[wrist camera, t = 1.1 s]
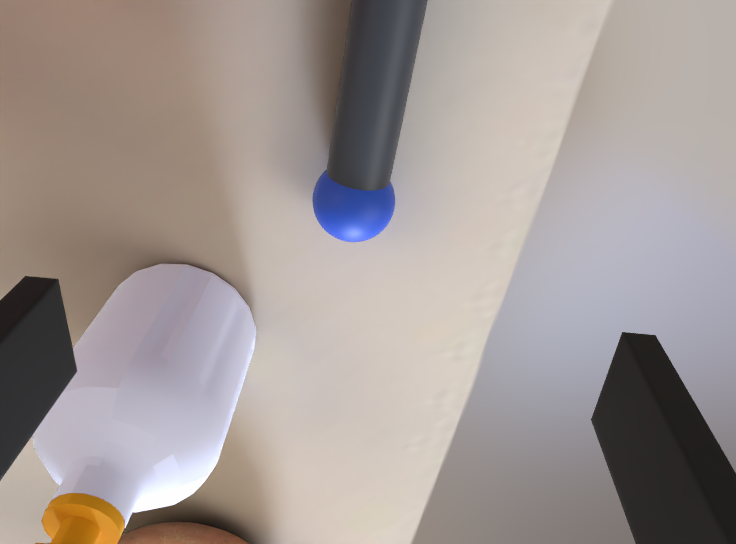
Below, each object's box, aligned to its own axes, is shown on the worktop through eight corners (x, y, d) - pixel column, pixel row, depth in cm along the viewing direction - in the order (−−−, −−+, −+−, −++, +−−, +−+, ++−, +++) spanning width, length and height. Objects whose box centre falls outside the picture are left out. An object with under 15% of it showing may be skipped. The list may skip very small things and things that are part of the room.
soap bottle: (198, 235, 36) (-93, 724, 15) (285, 347, 39) (154, 859, 18) (82, 295, 38) (-308, 785, 17) (174, 395, 42) (-51, 892, 21)
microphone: (356, -95, 27) (349, -94, 23) (451, -75, 27) (459, -71, 23) (313, 212, 34) (302, 248, 31) (387, 225, 35) (385, 263, 31)
